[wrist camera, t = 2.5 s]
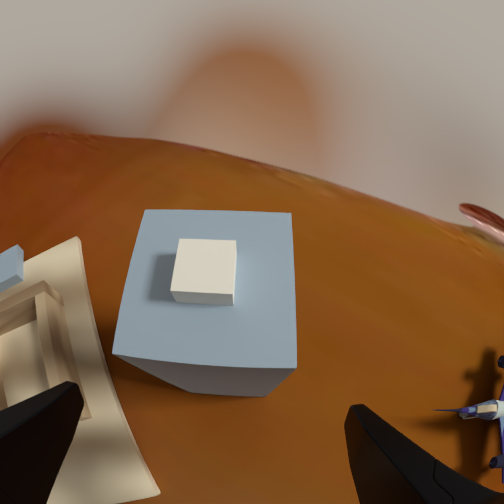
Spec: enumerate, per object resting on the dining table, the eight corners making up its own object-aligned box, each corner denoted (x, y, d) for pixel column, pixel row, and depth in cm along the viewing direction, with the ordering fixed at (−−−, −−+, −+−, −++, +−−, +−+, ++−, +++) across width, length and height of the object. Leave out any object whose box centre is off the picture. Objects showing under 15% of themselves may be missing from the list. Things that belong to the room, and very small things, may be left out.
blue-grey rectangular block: (265, 396, 18) (302, 362, 6) (190, 392, 18) (99, 346, 6) (266, 326, 20) (294, 197, 9) (196, 323, 20) (139, 194, 9)
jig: (160, 492, 14) (143, 506, 10) (25, 508, 10) (-2, 512, 7) (80, 241, 24) (62, 215, 21) (-18, 291, 20) (-40, 273, 17)
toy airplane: (407, 412, 17) (434, 408, 14) (496, 319, 20) (519, 304, 17) (460, 515, 11) (486, 520, 8) (538, 412, 14) (562, 405, 11)
